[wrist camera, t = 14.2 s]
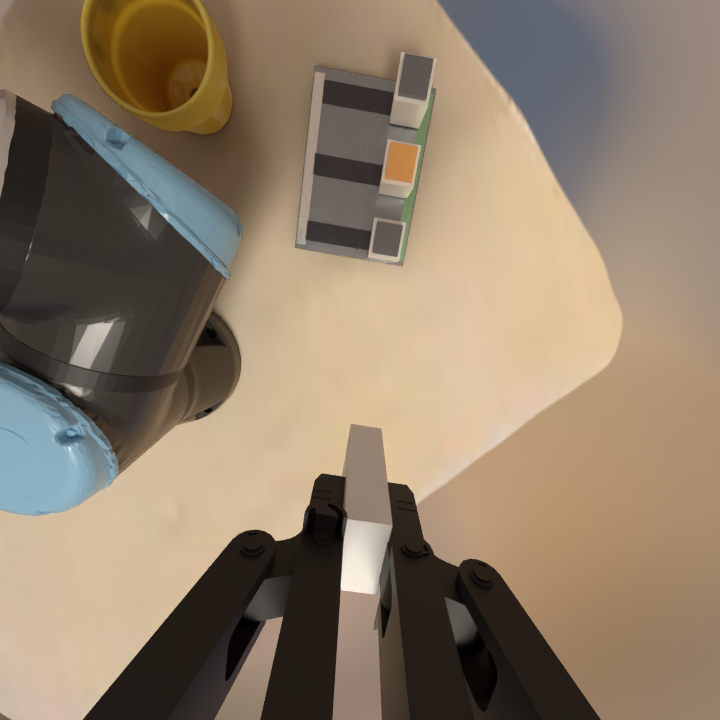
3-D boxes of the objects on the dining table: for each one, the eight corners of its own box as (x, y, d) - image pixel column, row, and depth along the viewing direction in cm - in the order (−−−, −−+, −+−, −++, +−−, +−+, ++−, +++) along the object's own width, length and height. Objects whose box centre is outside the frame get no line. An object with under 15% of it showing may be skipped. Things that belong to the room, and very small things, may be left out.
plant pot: (260, 148, 37) (226, 107, 28) (167, 161, 38) (101, 126, 28) (240, 32, 35) (194, -56, 25) (140, 48, 35) (57, -34, 25)
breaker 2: (378, 193, 36) (381, 180, 31) (384, 156, 35) (388, 136, 30) (406, 198, 36) (414, 186, 31) (413, 161, 35) (422, 142, 30)
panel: (298, 248, 40) (294, 247, 38) (317, 76, 35) (314, 65, 33) (400, 266, 40) (402, 266, 38) (432, 98, 36) (436, 88, 34)
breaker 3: (367, 257, 38) (368, 256, 32) (373, 223, 37) (374, 216, 31) (394, 262, 38) (399, 261, 32) (400, 228, 37) (407, 222, 32)
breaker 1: (389, 123, 34) (394, 96, 29) (395, 82, 34) (402, 47, 28) (418, 128, 35) (429, 103, 29) (426, 88, 34) (438, 54, 28)
